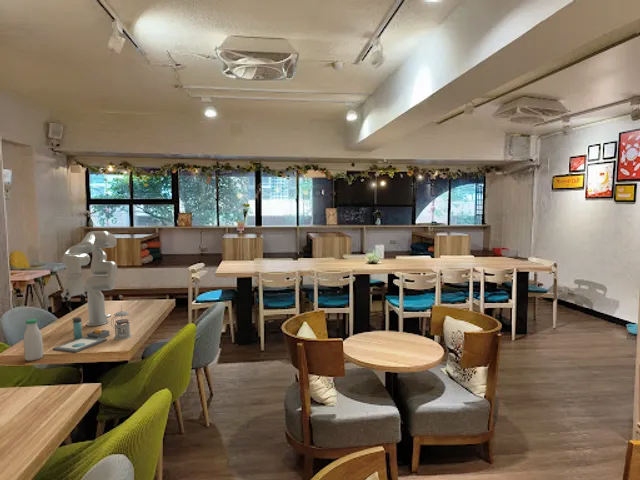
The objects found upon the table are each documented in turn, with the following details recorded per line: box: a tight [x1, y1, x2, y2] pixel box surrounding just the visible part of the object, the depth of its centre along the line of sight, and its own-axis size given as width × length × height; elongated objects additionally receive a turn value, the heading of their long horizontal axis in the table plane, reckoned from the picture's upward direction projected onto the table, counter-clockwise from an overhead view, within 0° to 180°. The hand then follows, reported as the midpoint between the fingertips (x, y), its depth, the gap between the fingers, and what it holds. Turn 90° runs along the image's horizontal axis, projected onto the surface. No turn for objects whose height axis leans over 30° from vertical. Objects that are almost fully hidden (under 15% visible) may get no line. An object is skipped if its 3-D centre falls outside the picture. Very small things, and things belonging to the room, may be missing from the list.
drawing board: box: [52, 336, 107, 353], centre depth 225 cm, size 20×16×1 cm
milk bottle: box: [23, 318, 44, 362], centre depth 205 cm, size 8×8×20 cm
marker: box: [72, 316, 83, 340], centre depth 236 cm, size 4×4×12 cm
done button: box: [94, 328, 103, 334], centre depth 238 cm, size 4×4×3 cm
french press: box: [110, 294, 133, 341], centre depth 237 cm, size 10×12×25 cm
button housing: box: [86, 329, 110, 339], centre depth 238 cm, size 8×8×3 cm
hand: (75, 305), depth 235 cm, fingers open, 9 cm apart
